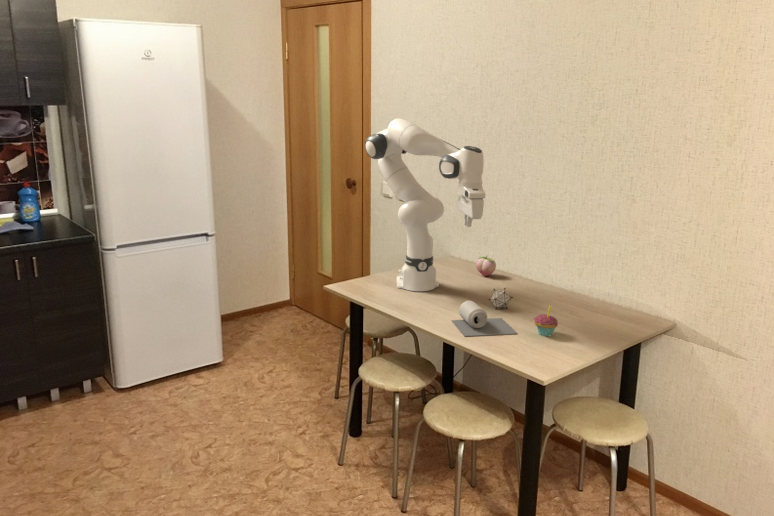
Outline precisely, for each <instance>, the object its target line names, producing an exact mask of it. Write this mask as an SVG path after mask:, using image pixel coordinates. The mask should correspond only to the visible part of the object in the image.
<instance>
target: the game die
mask: <svg viewBox="0 0 774 516" xmlns="http://www.w3.org/2000/svg"><path fill="white" fill-rule="evenodd" d="M511 299H514V297H513V296H510V294H509V293H508V292H507V290H506V287H504V288H503V289H495V288H493V293H492V296H491V297H490V298H488V301H491V303H492V305H493V306H495V310H498V308H506V309H507V310H508V304H509V303H510V302H511Z"/></svg>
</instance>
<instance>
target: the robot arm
mask: <svg viewBox="0 0 774 516" xmlns="http://www.w3.org/2000/svg"><path fill="white" fill-rule="evenodd" d="M364 149H365V151H366V154H367V155H368V157H370V158H371V159H372V160H378V161H377V166H378V169H379V171H380V173H381V175H382V177H383V179H384V180H385V182H386V184H387V185H388V187H389V188H390V190H391V191H392V193H393V195H394V196H395V197H396V198H398V199H399V200H401V201H403V202H404V204H402V205H401V206H400V207H399V208H398V211H397V217H398V220H399V222H400V224H401V225H403V227H404V231H405V234H406V255H405V257H404V260H405V261H404V264H403V266H402V267H401V269H398V270H397V272H398V275H397V276H396V289H397V288H398V289H402V290H403V289H404V290H407V291H412V292H429V291H432V290H435V288H438V287H440V284H439V283H438V282H437V268H436V267H434V256H433V248H434V246H433V245H434V239H433V237H432V236H431V235H430V233H429V228H428V224H431V223H434V222H436V221H438V220H439V219H440V218H441V217H443V214H444V212H445V207H444V204H443V202H442V200H441V199H439V198H437V197H434V195H432V194H430V192H428V191H427V190H426V189H425V188H424V187H423V186H422V184H420V183H419V182H418V180H417V179H416V178H415V176H414V175H413V174H412V171H410V169H409V168H408V166H407V164H406V163H405V162H404V160H403V158H402V155H403V154H404V155H405V154H406V153H409V154H411V155H413V156H429V157H430V156H433V157H439V158H440V161H439V162H438V170H439V173H440V175H441V176H442V177H443V178H444V179H447V180H456V179H458V189H457V190H458V192H457V199H456V209H457V211H459V212H460V213H462V214H463V220H464V226H465V227H467V228H471V227H472V224H473V223H472V222H473V221H474V220H481V219H482V218H483V214H484V213H483V212H484V205H485V203H484V202H485V201H484V199H486V191H484V189H483V188H484V187H483V179H482V177H483V173H484V152H483V150H482V149H481V148H479V147H476V146H473V145H472V146H471V145H465V146H462V148H459V147H457V146H455V145H453V144H451V143H449V142H447V141H445V140H443V139H441V138H439V137H437V136H435V135H434V134H431V133H429V132H428V131H426V130H424V129H423V128H422V127H420V126H418V125H417V124H415V123H413V122H411V121H409V120H408V119H407V120H406V119H403V118H400V117H399V118H395V119H393V120H392V121H390V123H389V124H388V126H387V128H385V129H383V130H381V131H378V132H376V133H373V134H371V135H370V136H368V137H367V138H366V139H365V143H364Z"/></svg>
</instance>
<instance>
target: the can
mask: <svg viewBox="0 0 774 516" xmlns="http://www.w3.org/2000/svg"><path fill="white" fill-rule="evenodd" d="M458 313H459V316H460V317H461V318H462V320H465V321H466V322H467V323H468V324H469V325H470V326H471V327H473V328H481V327H483V326H484V325H485V324H486V322H487V319H488V314H487V312H486V310H484V309H483V308H482V307H481V306H479V305H478V304H477V303H476V302H474V301H472V300H466V301H464V302H463V303H461V304H460V306H459V309H458Z"/></svg>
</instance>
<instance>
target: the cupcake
mask: <svg viewBox="0 0 774 516" xmlns="http://www.w3.org/2000/svg"><path fill="white" fill-rule="evenodd" d="M551 305H552V304H549V305H548V311H547V313H546V314H545V313H542V314H539V315H537V316H536V317H534V318H533V324H534V325H535V326H536V328H537V332H538V334H539V335H540V336H543V337H550V336H552V335H553V333H554V331H555V329H556V328H557V327H558V325H559V323H558V319H557V318H556V317H554V316H553V315H550V314H551V308H552V306H551Z"/></svg>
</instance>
